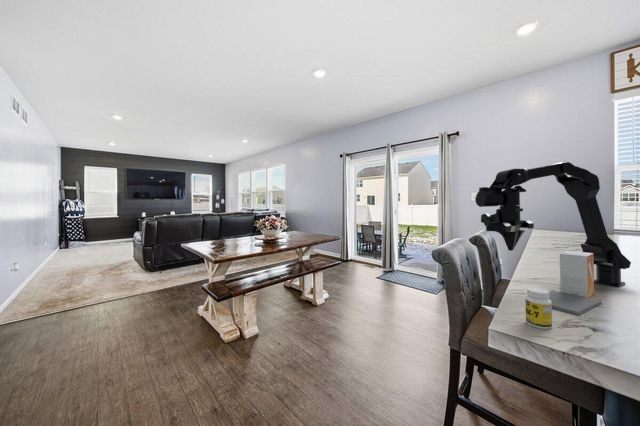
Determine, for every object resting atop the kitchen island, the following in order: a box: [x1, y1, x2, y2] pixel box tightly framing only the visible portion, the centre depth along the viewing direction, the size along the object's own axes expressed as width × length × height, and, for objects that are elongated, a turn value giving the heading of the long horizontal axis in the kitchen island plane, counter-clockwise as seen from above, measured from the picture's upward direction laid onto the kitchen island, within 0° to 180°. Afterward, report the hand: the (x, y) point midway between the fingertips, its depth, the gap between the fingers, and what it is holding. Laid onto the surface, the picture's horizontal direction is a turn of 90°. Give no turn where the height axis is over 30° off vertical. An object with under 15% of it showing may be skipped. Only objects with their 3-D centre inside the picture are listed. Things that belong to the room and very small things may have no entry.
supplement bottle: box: [525, 287, 553, 330], centre depth 60 cm, size 5×5×8 cm
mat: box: [548, 289, 603, 316], centre depth 72 cm, size 15×11×1 cm
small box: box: [559, 250, 595, 298], centre depth 79 cm, size 8×6×13 cm
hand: (510, 250), depth 87 cm, fingers closed
